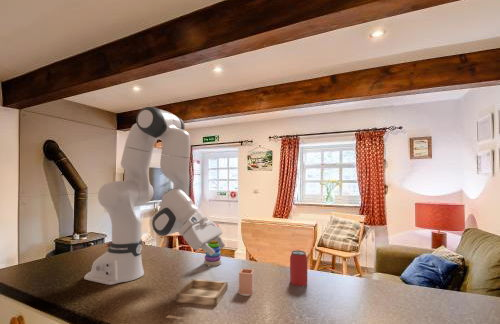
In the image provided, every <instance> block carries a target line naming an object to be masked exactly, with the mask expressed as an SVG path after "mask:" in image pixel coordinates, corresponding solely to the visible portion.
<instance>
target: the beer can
mask: <svg viewBox="0 0 500 324" xmlns="http://www.w3.org/2000/svg"><path fill="white" fill-rule="evenodd" d="M289 267H290V268H289V282H290V284H291V285H293V286H299V287H303V286H304V287H305V286H307V285H308V256H307V252H306V251H304V250H298V249H296V250H292V251H291V254H290V256H289Z"/></svg>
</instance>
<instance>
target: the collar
mask: <svg viewBox="0 0 500 324" xmlns="http://www.w3.org/2000/svg"><path fill="white" fill-rule="evenodd" d="M238 275H239V276H238V277H239V278H238V290H239V293H238V294H239V295H241V294H249V296H253V295H254V294H253V291H254V289H255V269H253V268H252V269H251V268H241V269H240V271H239V273H238ZM252 294H253V295H252Z"/></svg>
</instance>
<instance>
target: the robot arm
mask: <svg viewBox="0 0 500 324" xmlns="http://www.w3.org/2000/svg"><path fill="white" fill-rule="evenodd" d="M135 120H136V121H135V122H136V123H134V124H132V126H131V127H130V130H129V132H128V134H127V138H126V139H125V144H124V148H123V152H122V156H121V161H120V166H121V168H122V169H123V170H124V172H125V180H114V181H111V182H106V183H104V184H103V185H101V187H100V188H99V190H98V193H97V200H98V202H99V205H100V206H102V208H104V209H105V210H106V211H107V213H108V215H109V218H110V223H111V241H110V242H109V243H106V244H105V246H104V247H105V248H107V247H108V248H107V251H105V252H104V253H103V254H101V255H100V256H99V257H98V258H96V259H95V260H94V261H93V263H92V266H91V271H89V272H87V273H86V274H85V275H84V278H83V279H84V280H87V281H90V282H95V283H98V284H99V283H100V284H103V285H104V284H105V285H109V286H111V285H116V284H119V283H126V282H130V281H131V282H132V281H133V280H137V279H139V278H141V277H143V276H144V275H145V271H144V266H143V262H142V260H143V259H142V251H143V240H142V219H141V218H139V217H137V215H136V213H135V207H139V206H143V205H144V204H147V203H149V202H150V201H151V200H152V199H153V197H154V193H155V191H154V187H153V185H151V182H150V167H151V161H152V157H153V153H154V152H153V151H154V148H155V144H156V142H157V141H158V140H159V139H160V141H161V144H162V145H161V146H162V147H161V154H160V161H159V164H160V165H159V167H160V171H161V173H162V174H163V176H165V178H167V179H169V181H171V182H172V184H173V185H174V188H172V189H170V190H168V191H166V192H165V193H164V194H163V195H162V196H161V203H160V205H159V209H158V210H157V212H156V214H155V215H154V216H153V217H152V222H151V223H152V224H151V225H152V228H153V231H154V232H155V233H156V234H157V235H159V236H161V237H165V236H169V235H171V234H175V233H178V234H179V235H180V236H182V237H183V239H184V241H186V243H187V244H188V245H189V246H190V248H192V249H193V250H195V251H198V249H199V250H200V248H201V249H202V250H203V251H204V252H205V253H206V252H208V253H209V255H210V256H212V255H213V254H214V253H215V250H214V249H213V248H211V247H209V246H208V243H209V242H211V241H213V240H215V241H216V242H218V244H219V245H218V246H219V247H220V250H221V249H223V248H225V246H226V244H225V243H224V241H223V239H222V236H221V235H222V234H223V231H222V228H220V226H219V225H218V226H219V227H218V226H217V225H216V224H217V223H215V222H214V221H213V220H211V219H207V218H208V217H207V216H206V215H205V214H204V212H203V211H202V210H201V209H200V207H198V206H197V205H195V203H194V201H193V200H192V198H191V177H190V175H191V174H190V160H191V149H192V148H191V135H190V133H189V132H188V131H186V130H185V127H186V126H185V123H184V121H183V120H182V118H180V116H178V115H175V114H173V113H172V112H169V111H167V110H163V109H159V108H158V107H154V106H146V107H143V108H142V109H140V110H139V112H138V113H137V116H136V118H135Z"/></svg>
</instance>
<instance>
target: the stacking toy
mask: <svg viewBox="0 0 500 324" xmlns="http://www.w3.org/2000/svg"><path fill="white" fill-rule="evenodd" d="M215 224H216V225H217V226H218V227H219V228H220V226H219V224H217V223H215ZM218 245H219V244H218V242H216V241H215V240H213V241H211V242H209V243H208V246H209V247H211V248H213V249H214V250H215V253H214V254H213V255H212V256H210V255H209V253H208V252H206V251H205V256H204V260H203V263H204V264H205V265H206V266H210V267H216V266H219V265H221V264H222V259H221V254H222V253H221V248H220V247H219V246H218Z"/></svg>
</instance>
